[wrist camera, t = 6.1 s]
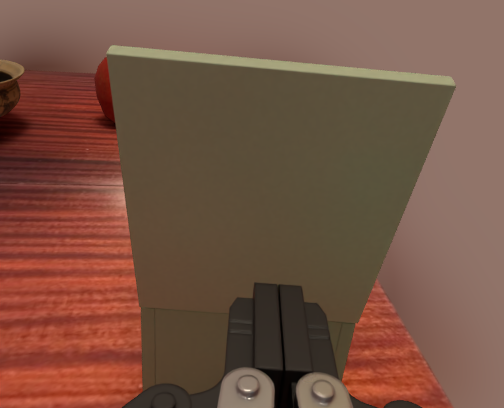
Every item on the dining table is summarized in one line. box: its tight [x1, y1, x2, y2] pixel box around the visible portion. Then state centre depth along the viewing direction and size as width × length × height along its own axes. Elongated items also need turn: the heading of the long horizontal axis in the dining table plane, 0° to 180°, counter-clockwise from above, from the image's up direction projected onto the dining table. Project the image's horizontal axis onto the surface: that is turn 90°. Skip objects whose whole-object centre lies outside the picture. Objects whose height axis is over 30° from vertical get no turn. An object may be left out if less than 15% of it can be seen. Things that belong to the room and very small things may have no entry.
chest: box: [141, 307, 355, 395], centre depth 39 cm, size 16×14×9 cm
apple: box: [94, 57, 115, 123], centre depth 85 cm, size 10×10×14 cm
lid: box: [106, 45, 456, 323], centre depth 24 cm, size 17×14×1 cm
